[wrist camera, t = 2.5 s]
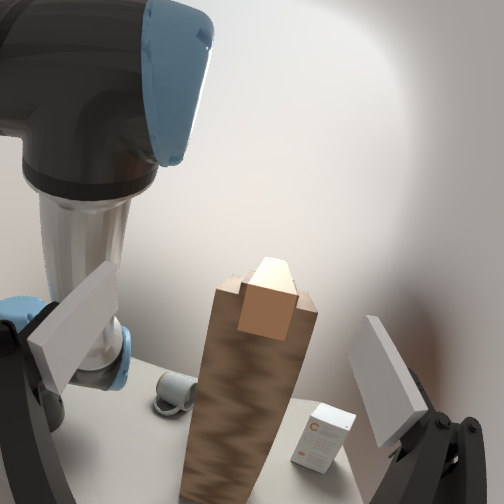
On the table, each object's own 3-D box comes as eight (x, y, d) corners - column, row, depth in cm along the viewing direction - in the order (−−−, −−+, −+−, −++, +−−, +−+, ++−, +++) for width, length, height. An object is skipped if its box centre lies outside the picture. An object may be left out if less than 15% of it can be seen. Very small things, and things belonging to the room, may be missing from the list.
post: (179, 496, 29) (218, 276, 26) (194, 460, 39) (234, 266, 36) (240, 512, 28) (321, 300, 25) (247, 473, 38) (309, 283, 35)
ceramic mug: (169, 388, 61) (172, 364, 60) (197, 402, 59) (202, 377, 58) (144, 407, 51) (146, 381, 50) (176, 423, 49) (179, 397, 48)
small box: (333, 458, 45) (357, 414, 44) (324, 475, 39) (350, 430, 38) (301, 445, 49) (321, 401, 48) (289, 460, 43) (309, 415, 42)
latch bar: (237, 329, 17) (247, 283, 16) (261, 276, 40) (265, 256, 40) (284, 341, 16) (297, 295, 16) (281, 281, 40) (286, 261, 40)
